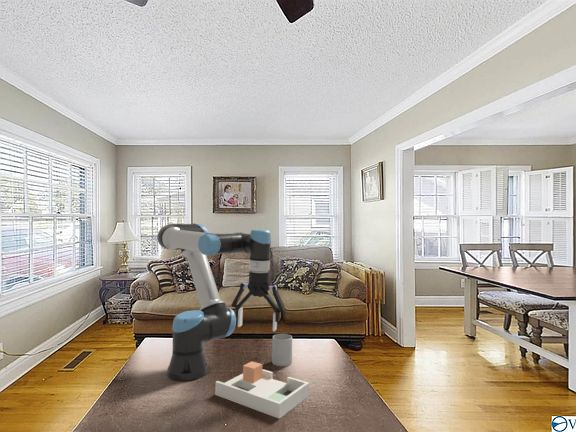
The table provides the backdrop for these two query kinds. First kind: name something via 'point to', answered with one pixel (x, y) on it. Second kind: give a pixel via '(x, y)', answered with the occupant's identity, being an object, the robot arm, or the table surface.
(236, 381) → the box
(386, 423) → the table surface
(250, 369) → the block
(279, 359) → the mug
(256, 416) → the table surface
